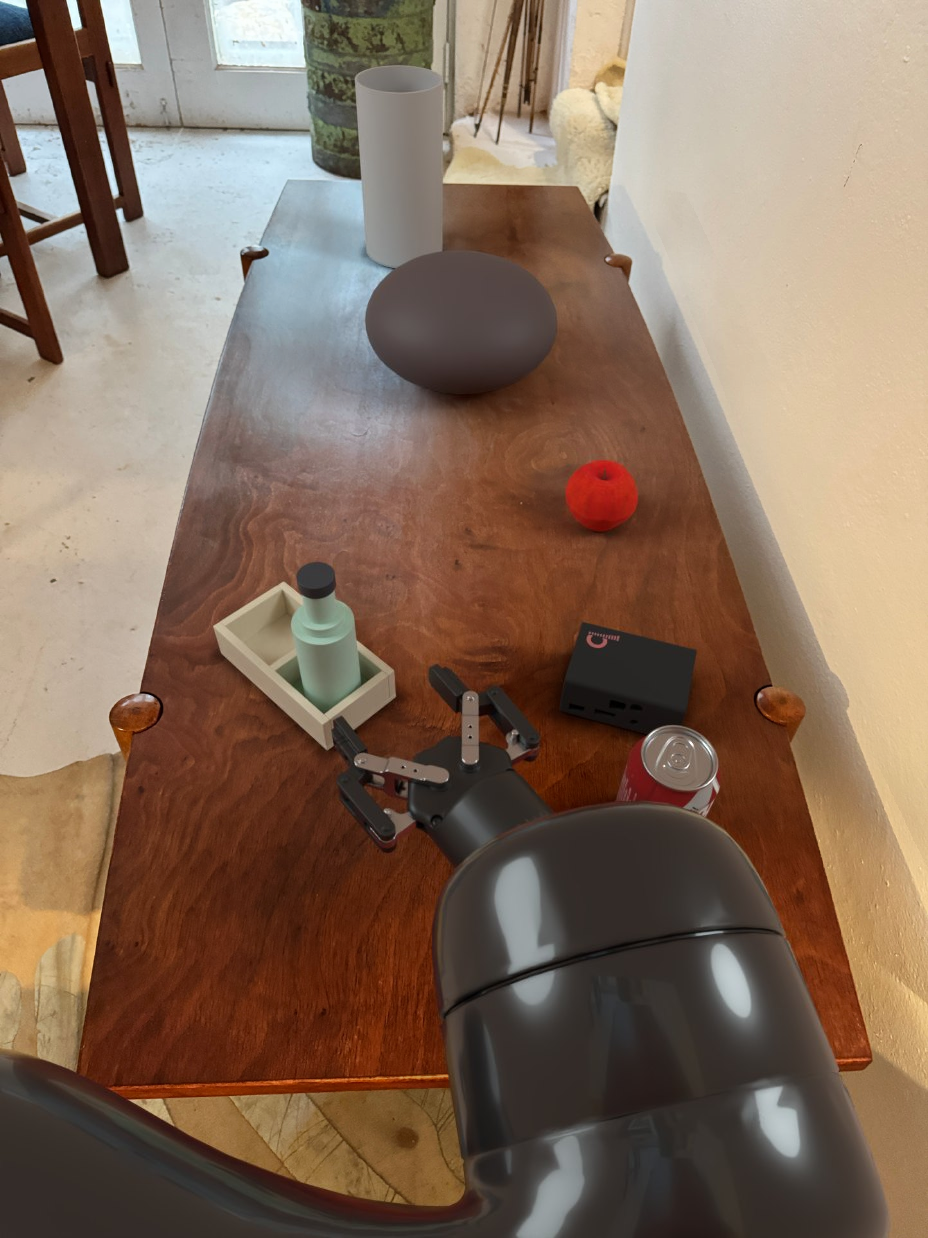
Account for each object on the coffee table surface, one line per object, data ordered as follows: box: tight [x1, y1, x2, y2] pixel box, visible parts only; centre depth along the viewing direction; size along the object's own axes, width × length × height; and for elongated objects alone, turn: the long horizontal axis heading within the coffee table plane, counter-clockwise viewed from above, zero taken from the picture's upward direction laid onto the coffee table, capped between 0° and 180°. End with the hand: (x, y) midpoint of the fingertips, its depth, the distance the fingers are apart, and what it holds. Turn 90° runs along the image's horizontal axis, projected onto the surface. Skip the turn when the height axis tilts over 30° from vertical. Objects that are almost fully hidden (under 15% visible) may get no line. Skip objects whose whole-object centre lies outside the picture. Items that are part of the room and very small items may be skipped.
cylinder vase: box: [354, 64, 444, 269], centre depth 129 cm, size 12×12×25 cm
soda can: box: [614, 725, 722, 818], centre depth 65 cm, size 7×7×12 cm
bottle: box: [291, 561, 362, 714], centre depth 72 cm, size 5×5×15 cm
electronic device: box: [558, 621, 698, 736], centre depth 77 cm, size 7×11×5 cm
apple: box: [565, 459, 639, 533], centre depth 93 cm, size 8×8×7 cm
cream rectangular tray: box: [212, 581, 397, 751], centre depth 78 cm, size 8×16×4 cm, turn 46°
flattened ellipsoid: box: [364, 249, 558, 395], centre depth 110 cm, size 25×25×15 cm
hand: (385, 697), depth 64 cm, fingers open, 8 cm apart
